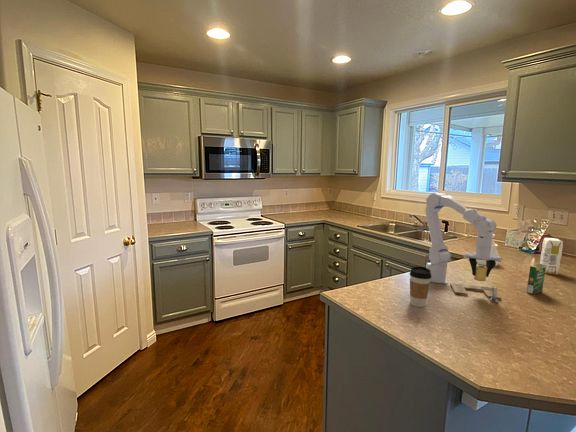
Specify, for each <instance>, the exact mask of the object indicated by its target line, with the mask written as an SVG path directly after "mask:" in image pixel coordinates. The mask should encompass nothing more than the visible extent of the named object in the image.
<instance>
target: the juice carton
mask: <svg viewBox="0 0 576 432" xmlns="http://www.w3.org/2000/svg"><path fill="white" fill-rule="evenodd" d="M563 249H564V241H563V240H561V239H559V238H553V237H544V238H543V241H542V245H541V252H540V253H541V254H540V258H539V264H542V265H546V269H545V275H546V274H547V275H548V274H549V275H554V276H557V275H559V271H560V267H561V261H562V254H563Z"/></svg>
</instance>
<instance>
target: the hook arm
mask: <svg viewBox="0 0 576 432" xmlns="http://www.w3.org/2000/svg"><path fill="white" fill-rule="evenodd" d="M480 287H481V289H483V290H491V291H492V298H487V299H488V301H489V302H490V303H498V304H499V302H500V300H497V299H496V294H497V293H498V287H496V286H493V287H488V286H480Z"/></svg>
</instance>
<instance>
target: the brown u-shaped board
mask: <svg viewBox="0 0 576 432" xmlns="http://www.w3.org/2000/svg"><path fill="white" fill-rule="evenodd" d="M450 288H451V290H452V291H453V293H454V295H456V296H462V297H468V294H469V293H468V292H467V291H471V292H480V293H483V294H484V296H485V297H486V298H487V299H488V298H492V291H491V290H483V289H481V286H480V285H479V286H478V285H471V284H464V283H463V284H462V283H454V282H450ZM496 299H497V300H498V301H502V297H501V296H500V293H498V292H497V294H496Z"/></svg>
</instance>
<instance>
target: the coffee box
mask: <svg viewBox="0 0 576 432" xmlns="http://www.w3.org/2000/svg"><path fill="white" fill-rule="evenodd" d="M545 269H546V265H542V264H540V263H538V264H534V265H531V266H529V273H528V278H527V285H526V286H527V287H526V293H527V294H529V295H535V294H536V295H537V294H541V293H542V292H543V288H544V282H545V275H546V273H545Z"/></svg>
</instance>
